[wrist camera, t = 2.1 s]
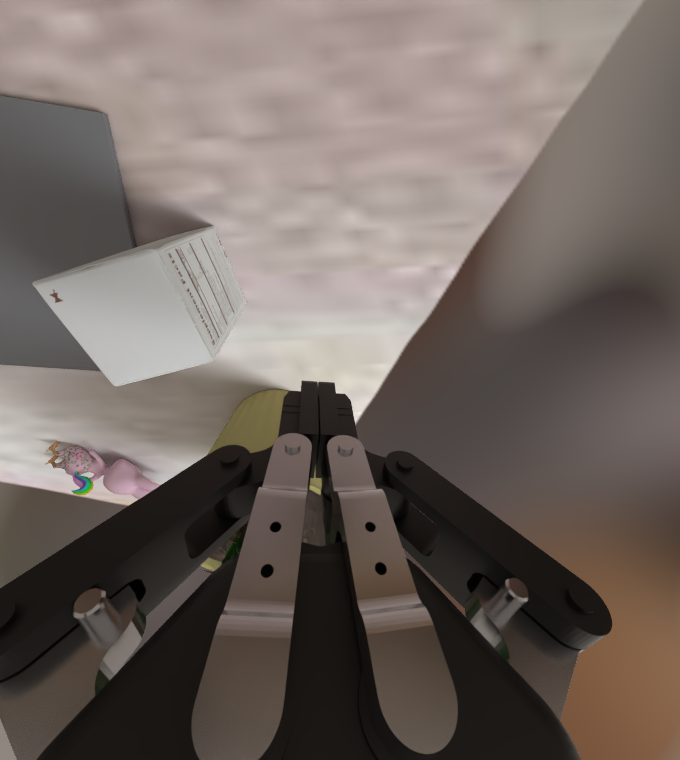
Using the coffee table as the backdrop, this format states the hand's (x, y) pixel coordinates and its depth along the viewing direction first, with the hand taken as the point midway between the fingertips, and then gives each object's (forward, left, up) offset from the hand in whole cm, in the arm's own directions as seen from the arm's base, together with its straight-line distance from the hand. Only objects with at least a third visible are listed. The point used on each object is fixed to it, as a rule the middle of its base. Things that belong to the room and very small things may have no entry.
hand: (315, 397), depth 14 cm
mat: (0, -25, -19) cm, 31 cm away
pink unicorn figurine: (+26, -24, -19) cm, 40 cm away
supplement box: (0, -11, -19) cm, 22 cm away
